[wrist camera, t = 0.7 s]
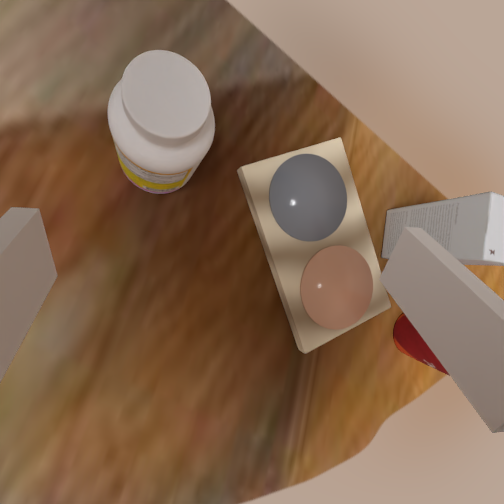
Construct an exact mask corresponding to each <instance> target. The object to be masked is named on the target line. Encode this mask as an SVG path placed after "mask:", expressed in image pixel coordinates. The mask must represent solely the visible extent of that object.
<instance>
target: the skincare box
mask: <svg viewBox="0 0 504 504" xmlns="http://www.w3.org/2000/svg"><path fill="white" fill-rule="evenodd" d="M404 227H416V228H422V229H423V230H424V231H425V232H426V233H428V234H429V235H430V236H431V237H432V238H433V239H434V240H436V241H437V242H438V243H439V244H440V245H441V246H442V247H444V248H445V249H446V250H447V251H448V252H449V253H450V254H451V255H453V256H454V257H455V258H456V259H457V260H458V261H459V262H461V263H462V264H466V265H498V266H504V196H502V195H500V194H497V193H494V192H486V193H480V194H475V195H470V196H464V197H458V198H453V199H447V200H442V201H436V202H430V203H424V204H418V205H412V206H407V207H401V208H395V209H390V210H387V215H386V224H385V232H384V240H383V248H382V255H381V257H382V258H386V259H389V258H390V256H391V254H392V252H393V250H394V248H395V246H396V244H397V242H398V240H399V237H400V235H401V233H402V231H403V229H404Z"/></svg>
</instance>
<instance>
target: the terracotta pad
mask: <svg viewBox="0 0 504 504" xmlns="http://www.w3.org/2000/svg"><path fill="white" fill-rule="evenodd" d="M372 293H373V278H372V273H371V270H370V267H369V265H368V263H367V262H366V260H365V259H364V258H363V256H362V255H361V254H360V253H358V252H357V251H356V250H354V249H352V248H350V247H347V246H342V245H335V246H329V247H326V248H324V249H322V250H320V251H319V252H317V253H316V254H315V255H314V256H313V257H312V258H311V259H310V260H309V262H308V263H307V265H306V267H305V269H304V271H303V274H302V278H301V283H300V295H301V300H302V304H303V306H304V309H305V311H306V312H307V314H308V315H309V317H310V318H311V319H312V320H313V321H314V322H316V323H317V324H318V325H320V326H322V327H325V328H328V329H333V330H339V329H344V328H347V327H349V326H351V325H353V324H355V323H356V322H357V321H358V320H359V319H360V318H361V317H362V316H363V315H364V313H365V312H366V310H367V309H368V307H369V304H370V302H371V298H372Z"/></svg>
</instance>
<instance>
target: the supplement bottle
mask: <svg viewBox="0 0 504 504" xmlns="http://www.w3.org/2000/svg"><path fill="white" fill-rule="evenodd" d="M108 123H109V127H110V131H111V134H112V137H113V141H114V144H115V148H116V151H117V155H118V158H119V162H120V165H121V167H122V170H123V172H124V173H125V175H126V176H127V178H128V179H129V180H130V181H131V182H132V183H133V184H135V185H136V186H137V187H139V188H141V189H143V190H145V191H147V192H151V193H156V194H165V193H170V192H173V191H176V190H178V189H180V188H181V187H182V186H184V185H185V184H186V183H187V182H188V180H189V179H190V178H191V176H192V175H193V173H194V172H195V170H196V168H197V167H198V165H199V164H200V162H201V161H202V159H203V158H204V156H205V155H206V154H207V152H208V150H209V149H210V147H211V144H212V141H213V138H214V132H215V119H214V114H213V110H212V107H211V96H210V91H209V87H208V84H207V82H206V80H205V78H204V76H203V75H202V73H201V72H200V71H199V69H198V68H197V67H196V66H195V65H194V64H193V63H192V62H190V61H189V60H187V59H186V58H184V57H183V56H181V55H179V54H177V53H174V52H170V51H166V50H152V51H147V52H144V53H142V54H140V55H138V56H136V57H135V58H134V59H133V60H132V61H131V62H130V63H129V64H128V66H127V67H126V69H125V71H124V73H123V76H122V79H121V80H120V81H119V82H118V83H117V84H116V86H115V87H114V89H113V91H112V93H111V96H110V99H109V103H108Z"/></svg>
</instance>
